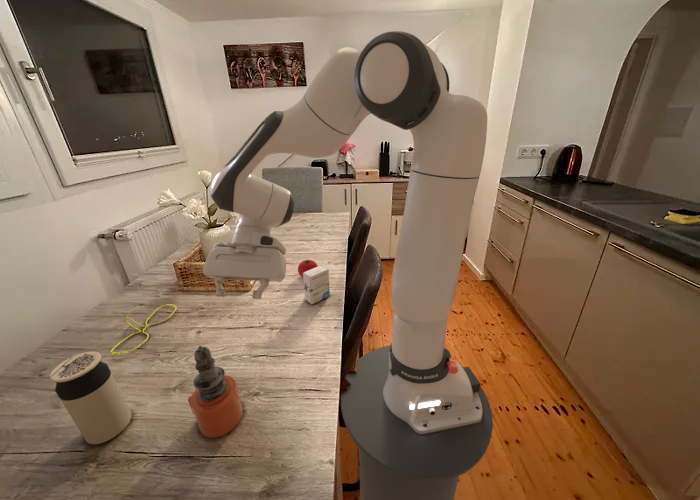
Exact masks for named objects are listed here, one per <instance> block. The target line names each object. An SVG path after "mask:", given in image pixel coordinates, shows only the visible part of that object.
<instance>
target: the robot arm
mask: <svg viewBox="0 0 700 500" xmlns="http://www.w3.org/2000/svg"><path fill="white" fill-rule="evenodd" d="M369 115H373V116H374V117H376V118H377V119H380V120H381V121H384V122H386V123H389V124H391V125H392V126H395V127H398V128H399V129H402V130H404V131H405V130H406V131H410V133H411V135H412V140H413V146H412V147H413V148H412V156H411V163H410V164H411V165H410V169H409V175H408V181H407V188H406V196H405V203H404V209H403V216H402V221H401V226H400V229H399V236H398V240H397V246H396V250H395V251H396V252H395V257H394V262H393V268H392V273H391V280H390V304H391V308H392V310H393V315H392V333H391V334H392V336H391V343H390V345H391V346H390V352H389V369H390V370H389V375H388V378H387V381H386V383H385V385H384V388H383V397H384V400H385V403H386V405H387V407H388V408H389V409H390V411H391V412H392V413H393V414H394V415H396V416H397V417H398V418H400V419H402V420H404V421H405V422H407V423H408V424H409V425H410V426H411V427H412V428H413V430H414V431H415V432H417V433H418V434H426V433H431V432H436V431H441V430H445V429H450V428H455V427H460V426H465V425H469V424H474V423H478V422H481V419H482V404H481V401H480V398H479V395H478V393H477V392H479V390H480V386H482V384H481V382H480V380H478V379H479V378H477V376H476V375H475V373H474V372H473V371H472V369H471V368H470V366H463V365H462V364H460V363H459V362H458V361H456V360H455V359H453V358H452V355H451V351H450V350H449V349H447V346H446V344H445V341H446V337H447V336H446V335H447V329H448V328H447V327H448V316H449V314H450V312H451V309H452V306H453V303H454V301H455V300H454V299H455V295H456V291H457V285H458V281H459V276H460V272H461V271H460V270H461V266H462V261H463V255H464V249H465V244H466V243H465V242H466V236H467V231H468V226H469V225H468V224H469V220H470V215H471V212H472V209H473V204H474V200H475V198H476V197H475V196H476V193H477V189H478V186H479V185H478V184H479V180H480V176H481V172H482V168H483V162H484V158H485V150H486V143H487V135H488V112H487V109H486V108H485V106H484V104H482V102H480V101H478V100H477V99H475V98H473V97H472V96H471V97H470V96H467V95H463V94H462V95H461V94H453V93H450V77H449V73H448V71H447V68H446V67H445V65H444V64H443V63H442V62H441V60H440V57H438V55H437V53H436V51H434V50H433V49H432V48H431V47H430V46H428V45H427V44H426V43H424V42H423V41H422V40H421V39H420V38H418V37H417V36H416V35H415V34H412V33H409V32H405V31H401V30H390V31H386V32H384V33H381V34H379V35H377V36H375V37H373V38H372V39H370V41H369V42H368V43H367V44H366V45H364V48H363V49H362V50H360V49H359V48H356V47H352V46H344V47H341V48H339V49H338V50H336V52H334V53H333V54H332V55H331V57H330V58H329V59H328V60H327V61H326V62H325V64H324V65H323V66H322V67H321V69H320V70H319V71H318V73H317V74H316V75H315V77H314V78H313V80H312V81H311V82H310V84H309V86H308V88H307V89H306V91H305V93H304V94H303V96H302V97H301V98H300V100H299V101H298V102H297V103H296V104H294V105H292V106H291V107H290V108H287V109H286V110H275V111H273V112H271V113H270V114H268V115H267V117H265V119H263V121H262V122H261V123H260V124H259V125H258V126H257V127H256V129H254V131H253V132H252V133H251V134H250V135H249V136H248V138H247V139H246V140H245V142H244V143H243V144H242V145H241V147H240V148H239V149H238V151H236V153H235V154H234V155H233V156H232V157H231V159H230V160H229V161H228V162H227V163H226V164H225V165H224V166H223V167H221V169H220V170H219V171H218V172H217V173H216V174H215V176H214V178H213V180H212V182H211V185H210V191H209V194H210V197H211V199H212V201H213V202H214V204H215V205H216V206H217V208H218V209H219V210H222V211H227V212H229V213H236V214H238V223H237V224H236V225H235V228H234V230H233V231H234V232H233V234H232V239H231V242H218V243H216V244H214V245H213V246H211V248H210V251H209V254H208V255H207V257H206V259H205V262H204V264H203V267H202V273H203V275H204V276H205V277H207V278H209V279H213V282H214V285H215V288H216V290H215V293H214V296H216V297H220V298H225V296H226V292H227V290H226V289H224V287H223V284H225V282H226V280H235V281H253V282H259V284H260V285H259V286H258V288H257V289H253V290H252V295H251V297H252V299H254V300H261V299H262V297H263V293H264V292H265V291H266V290H267V288H269V285H270V282H272V283H273V282H274V283H281V282H283V280H284V279H285V278H286V272H287V258H286V256H285V255H286V253H287V247H286V246H285V245H284V244H283V243H282V242H281V241H280V240H279V239H278V238H276V237H274V236H271V230H272V228H275V229H276V228H279V227H281V226H284V225H285V224H288V223H289V222H290V221H291V219H292V216H293V214H294V209H295V198H294V196H293V193H292V192H291V191H290V190H288V189H287V188H285V187H283V186H281V185H279V184H276V183H274V182H271V181H269V180H267V179H264V178H263V177H260V176H258V175H255V174H253V172H254V171H255V170H256V168H258V166H259V165H260V164H261V163H262V162H264V160H265V159H266V158H267V157H269V156H271V155H276V154H289V155H296V156H300V157H301V156H302V157H306V158H313V159H321V158H326V157H327V158H328V157H331V156H333V155H334V154H336V153H338V152H339V151H340V150H341V149H342V148H343V147H344V146H345V145H346V143H347V142H348V141H349V139H350V138H351V137H352V136H353V134H354V133H355V132H356V130H357V129H358V128H359V126H360V125H361V123H362V122H363V121H364V120H365V119H366V118H367V117H368V116H369ZM452 359H453V360H452ZM461 365H462V366H463V367H462V366H461ZM476 408H477V409H476ZM478 409H479V410H478ZM424 426H427V427H424Z"/></svg>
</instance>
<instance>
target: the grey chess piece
mask: <svg viewBox="0 0 700 500" xmlns="http://www.w3.org/2000/svg"><path fill="white" fill-rule="evenodd" d="M193 356H194V360H195V363H196V364H195V370H196V371H197V372H198V374H197V375H196V376H195V378H194V381H193V386H194V388H195V389H196V388H197V389H198V390H199V391H200V393H199V395H200V398H201V399H202V400H204V401H211V400H214V399H216V398H218V397H220V396H221V395H222V394H223V393H224V392H225V390H226V386H227V385H226V382H225V381H224V375H226V371H225V370H224V368H223V367H221V366H215V364H216V363H215V362H216V360H215V358H214V357H212V354H211V350H210V349H209V347H207V346H202V345H199V346H198V348H196V350H195V351H194V353H193Z"/></svg>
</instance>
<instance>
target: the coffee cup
mask: <svg viewBox="0 0 700 500" xmlns="http://www.w3.org/2000/svg"><path fill="white" fill-rule="evenodd" d="M224 381H225V382H226V385H227V386H226V390H225V392H224V393H223V394H222V395H221V396H220V397H218V398H216V399H214V400H211V401H204V400H202V399H201V398H200V395H199V393H200V391H199V390H198V389H197V388H195V389H194V390H193V392H192V394H191V395H190V396H189V397H188V398H187V401H188V404H189V407H190V409H191V412H192V415H194V417H195V420H196V423H197V425H198V428H199V431H200V433H201V434H202V435H203V436H204V437H206V438H211V439H215V438H219V437H222V436H225V435H227V434H228V433H230V432H231V431H233V430H234V429H235V428H236V427H237V426H238V424H239V423H240V421H241V419H242V416H243V413H244V412H243V411H244V409H243V405H242V401H241V397H240V393H239V389H238V386H237V385H238V384H237V382H236V380H235V378H233V377H232V376H230V375H226V374H225V375H224Z"/></svg>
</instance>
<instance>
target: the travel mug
mask: <svg viewBox="0 0 700 500" xmlns="http://www.w3.org/2000/svg"><path fill="white" fill-rule="evenodd" d="M101 360H102V354H101V353H100V352H97V351H85V352H82V353H78V354H75V355H73V356H70V357H69V358H66V359H65V360H63V361H62V362H60V363H59V364H58V365H57V366H55V367H54V368H53V369H52V370H51V372H50V373H49V380H50V381H51V382H52V383H55V388H54V391H55V393H56V395H57V396H58V398H59V400H60V401H61V403H62V405H63V406H64V408H65V409H66V411H67V412H68V414H69V416H70V417H71V419H72V421H73V422H74V424H75V425H76V427H77V428H78V431H79V432H80V433H81V435H82V437H83V438H84V440H85V442H86V443H87V444H90V445H100V444H102V443H105V442H108V441H110V440H112V439H113V438H115V437H117V436H118V435H119V434H120V433H122V432H123V431H124V430H125V429H126V427H128V425H129V424H130V422H131V420H132V412H131V410H130V408H129V405H128V404H127V401H126V400H125V397H124V395H123V393H122V392H121V390H120V387H119V386H118V383H117V382H116V379H115V377H114V375H113V373H112V371H111V369H110V367H109V365H108V364H107V363H106V362H104V361H101Z"/></svg>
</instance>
